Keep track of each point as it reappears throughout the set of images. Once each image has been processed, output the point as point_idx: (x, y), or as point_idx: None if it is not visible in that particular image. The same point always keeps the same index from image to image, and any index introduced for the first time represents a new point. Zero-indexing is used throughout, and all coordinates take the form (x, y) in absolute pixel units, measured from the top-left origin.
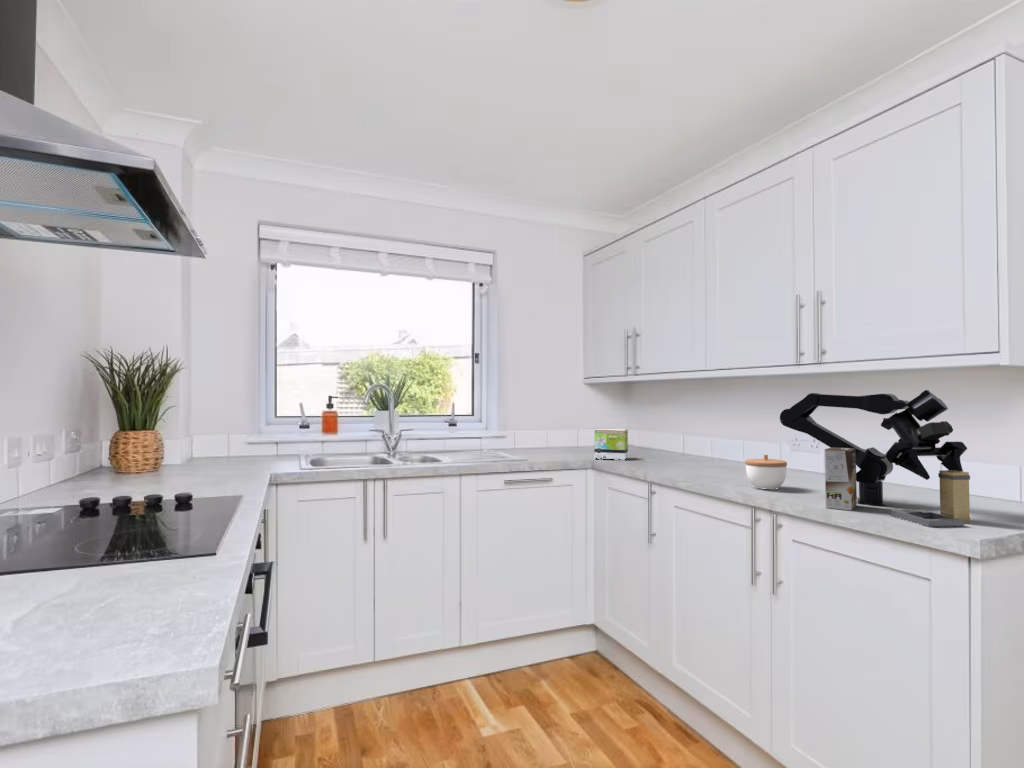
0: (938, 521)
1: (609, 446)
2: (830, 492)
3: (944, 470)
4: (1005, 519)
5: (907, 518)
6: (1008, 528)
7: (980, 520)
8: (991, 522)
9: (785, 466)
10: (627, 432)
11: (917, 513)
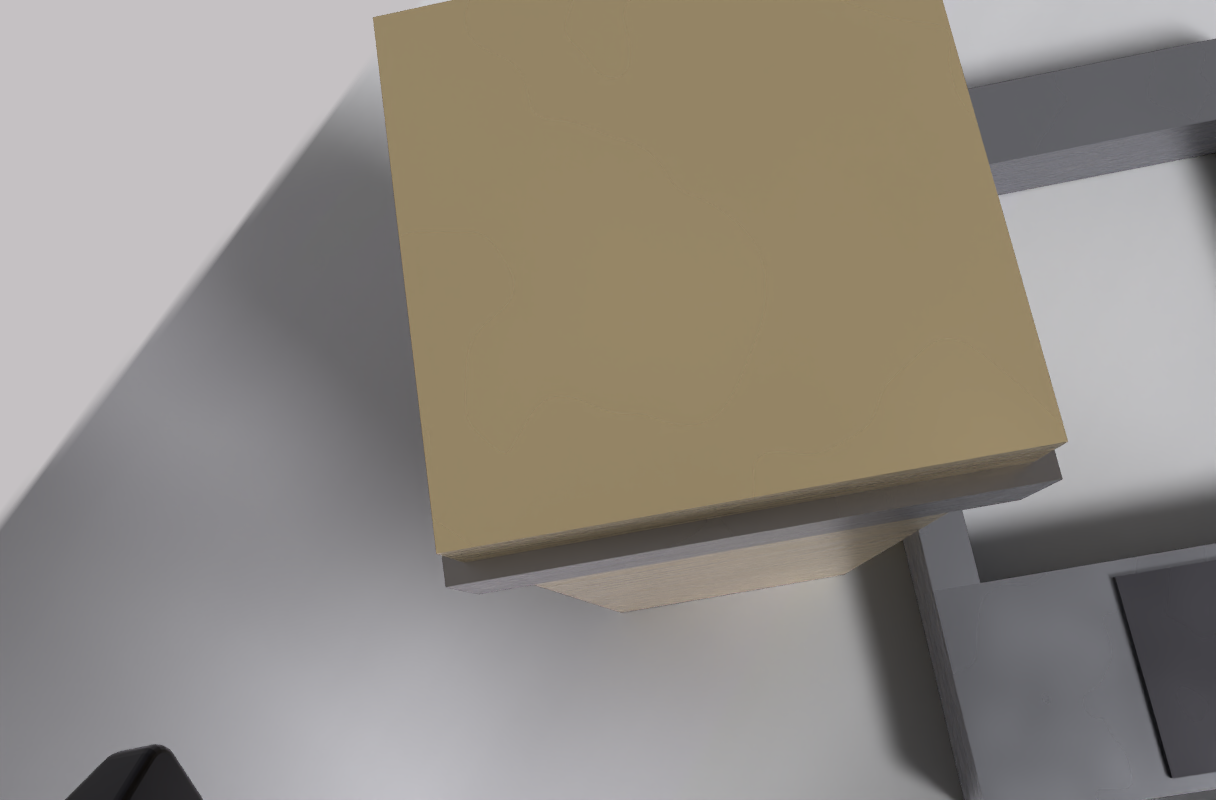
0: (1162, 54)
1: None
2: None
3: (873, 440)
4: (28, 620)
5: None
6: (377, 135)
7: (376, 530)
8: (329, 424)
9: None
10: None
11: (1204, 545)
